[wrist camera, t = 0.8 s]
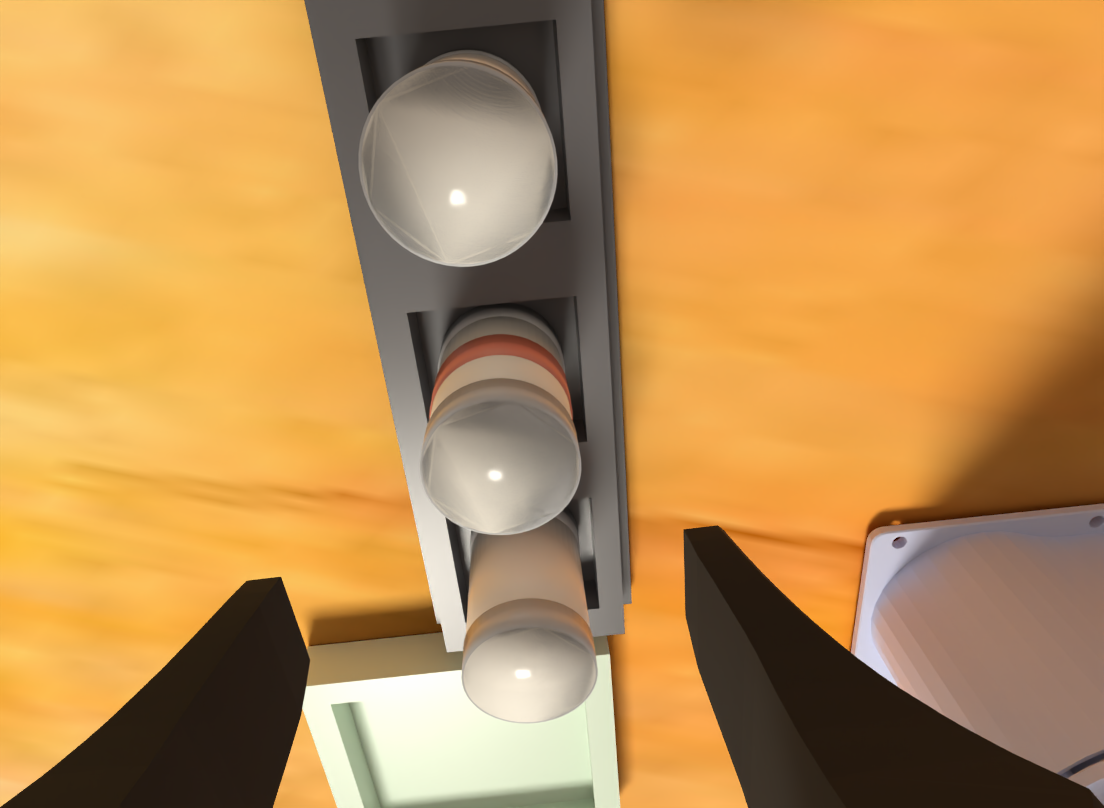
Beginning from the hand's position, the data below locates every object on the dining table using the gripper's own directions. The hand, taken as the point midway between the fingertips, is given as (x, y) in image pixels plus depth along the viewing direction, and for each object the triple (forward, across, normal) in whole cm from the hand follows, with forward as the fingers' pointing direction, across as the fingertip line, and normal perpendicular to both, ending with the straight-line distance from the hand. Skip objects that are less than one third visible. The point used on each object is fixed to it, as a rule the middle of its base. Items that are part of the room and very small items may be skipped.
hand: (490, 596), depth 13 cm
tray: (+10, +3, +16) cm, 19 cm away
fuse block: (+10, 0, 0) cm, 10 cm away
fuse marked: (+10, 0, 0) cm, 10 cm away
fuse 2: (+10, 0, +6) cm, 12 cm away
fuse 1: (+10, 0, -7) cm, 12 cm away
